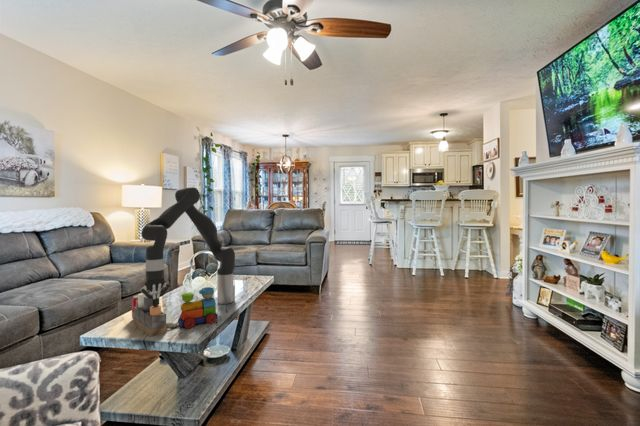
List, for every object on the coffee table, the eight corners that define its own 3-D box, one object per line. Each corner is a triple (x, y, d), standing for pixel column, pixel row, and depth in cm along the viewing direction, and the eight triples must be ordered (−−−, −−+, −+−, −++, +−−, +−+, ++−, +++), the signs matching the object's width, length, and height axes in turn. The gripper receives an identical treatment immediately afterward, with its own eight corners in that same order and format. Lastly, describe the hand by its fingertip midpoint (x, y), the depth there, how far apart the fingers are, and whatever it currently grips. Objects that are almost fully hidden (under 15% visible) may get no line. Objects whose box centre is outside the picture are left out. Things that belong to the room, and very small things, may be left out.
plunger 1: (146, 305, 158) (146, 291, 158) (150, 307, 155) (150, 293, 155) (136, 307, 155) (136, 293, 155) (140, 309, 152) (139, 295, 152)
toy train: (150, 328, 150) (150, 294, 150) (212, 316, 167) (211, 284, 167) (155, 337, 140) (154, 300, 140) (219, 322, 158) (219, 289, 157)
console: (148, 320, 160) (148, 303, 160) (166, 332, 145) (166, 313, 145) (133, 324, 155) (133, 307, 155) (150, 336, 140) (150, 317, 140)
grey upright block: (152, 308, 153) (152, 294, 153) (156, 310, 150) (156, 296, 150) (142, 311, 150) (142, 296, 150) (145, 313, 147) (145, 298, 147)
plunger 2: (158, 318, 148) (158, 304, 148) (163, 321, 145) (162, 306, 145) (148, 321, 145) (148, 306, 145) (152, 323, 142) (152, 308, 142)
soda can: (150, 317, 164) (150, 294, 164) (139, 322, 158) (138, 298, 157) (140, 316, 167) (140, 293, 166) (128, 320, 160) (128, 297, 160)
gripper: (166, 265, 152) (166, 301, 152) (136, 269, 142) (136, 308, 142) (173, 267, 147) (173, 304, 147) (142, 272, 137) (142, 311, 137)
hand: (155, 306), depth 145 cm, fingers closed
